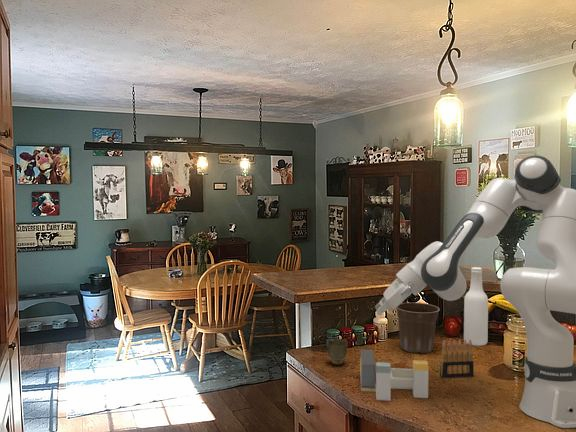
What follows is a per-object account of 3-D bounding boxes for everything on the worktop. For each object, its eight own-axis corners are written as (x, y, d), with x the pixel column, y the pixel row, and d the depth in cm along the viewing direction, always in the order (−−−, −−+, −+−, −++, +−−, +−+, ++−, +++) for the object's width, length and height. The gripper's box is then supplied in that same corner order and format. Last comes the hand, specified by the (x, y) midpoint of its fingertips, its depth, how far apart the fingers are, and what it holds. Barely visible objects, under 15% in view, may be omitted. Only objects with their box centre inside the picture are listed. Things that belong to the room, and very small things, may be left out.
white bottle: (464, 345, 191) (465, 269, 189) (463, 338, 199) (464, 265, 198) (488, 347, 188) (490, 269, 187) (486, 340, 197) (487, 266, 195)
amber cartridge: (426, 393, 145) (426, 360, 145) (428, 398, 142) (428, 364, 142) (412, 393, 146) (412, 360, 145) (414, 397, 143) (414, 363, 142)
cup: (346, 368, 166) (346, 345, 166) (325, 366, 168) (325, 343, 167) (348, 360, 174) (348, 338, 173) (327, 359, 175) (327, 337, 175)
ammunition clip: (442, 378, 157) (442, 341, 157) (439, 375, 159) (440, 339, 159) (473, 376, 159) (474, 340, 158) (471, 374, 160) (471, 338, 160)
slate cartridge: (389, 396, 143) (389, 362, 143) (390, 400, 140) (390, 366, 140) (375, 395, 144) (375, 362, 143) (376, 400, 141) (376, 365, 140)
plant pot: (446, 348, 187) (446, 306, 187) (427, 358, 175) (428, 314, 175) (407, 339, 198) (408, 300, 197) (387, 349, 186) (387, 307, 185)
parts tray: (416, 378, 157) (416, 368, 157) (420, 389, 148) (420, 380, 148) (386, 376, 158) (386, 367, 158) (389, 388, 149) (389, 378, 149)
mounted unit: (373, 372, 162) (373, 349, 162) (376, 391, 147) (376, 365, 146) (359, 372, 163) (359, 348, 162) (360, 391, 147) (360, 365, 147)
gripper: (420, 292, 142) (385, 324, 143) (413, 286, 162) (382, 314, 163) (405, 276, 143) (370, 308, 144) (399, 272, 163) (369, 299, 164)
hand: (376, 311), depth 154 cm, fingers open, 8 cm apart
